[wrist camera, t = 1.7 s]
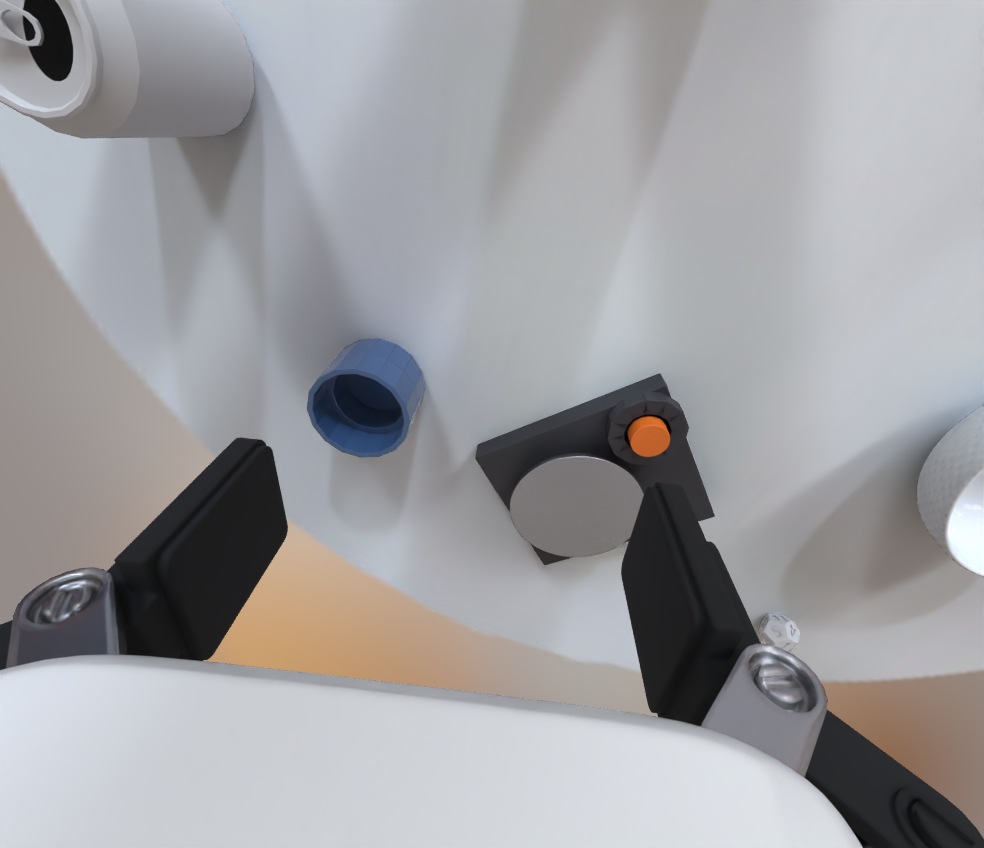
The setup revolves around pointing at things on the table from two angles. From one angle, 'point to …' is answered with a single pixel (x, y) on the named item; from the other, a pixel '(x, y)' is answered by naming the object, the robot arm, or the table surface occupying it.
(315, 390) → the blue cup
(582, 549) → the pan
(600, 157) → the table surface
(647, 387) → the scale
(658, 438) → the button
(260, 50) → the table surface
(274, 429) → the table surface
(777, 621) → the game die
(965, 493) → the cereal bowl
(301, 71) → the table surface
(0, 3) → the can
